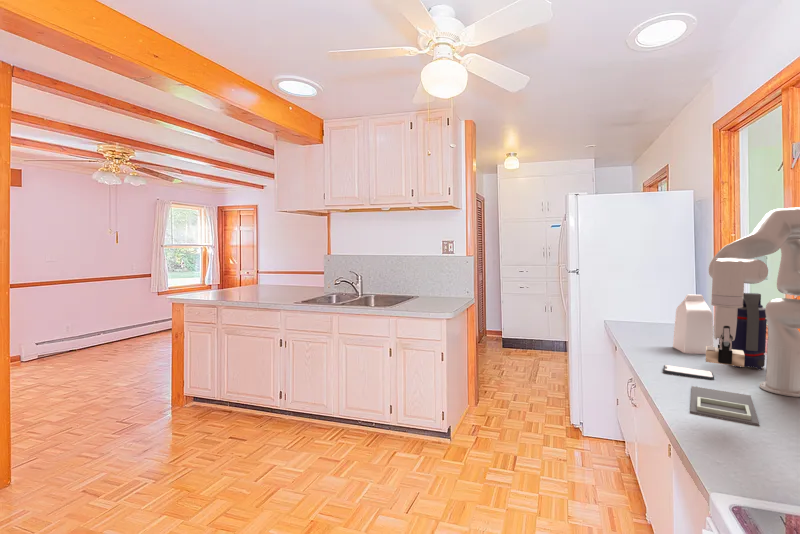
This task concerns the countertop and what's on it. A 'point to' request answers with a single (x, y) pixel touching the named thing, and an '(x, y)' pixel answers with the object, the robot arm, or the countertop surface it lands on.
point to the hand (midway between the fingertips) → (724, 360)
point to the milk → (693, 325)
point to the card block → (712, 357)
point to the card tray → (723, 412)
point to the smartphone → (688, 372)
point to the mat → (723, 397)
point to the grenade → (751, 331)
